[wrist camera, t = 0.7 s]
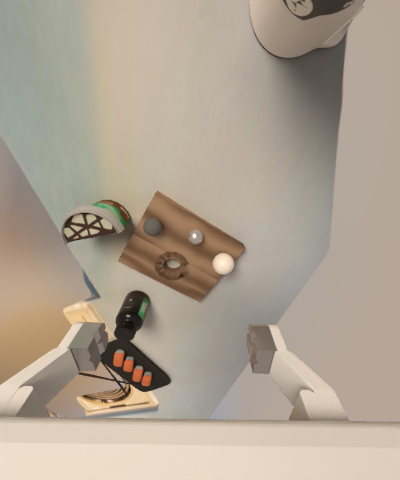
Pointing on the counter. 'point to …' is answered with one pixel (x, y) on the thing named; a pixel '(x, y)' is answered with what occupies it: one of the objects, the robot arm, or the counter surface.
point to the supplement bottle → (131, 315)
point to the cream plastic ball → (223, 263)
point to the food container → (94, 221)
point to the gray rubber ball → (152, 226)
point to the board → (178, 249)
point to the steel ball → (195, 236)
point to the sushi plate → (131, 367)
